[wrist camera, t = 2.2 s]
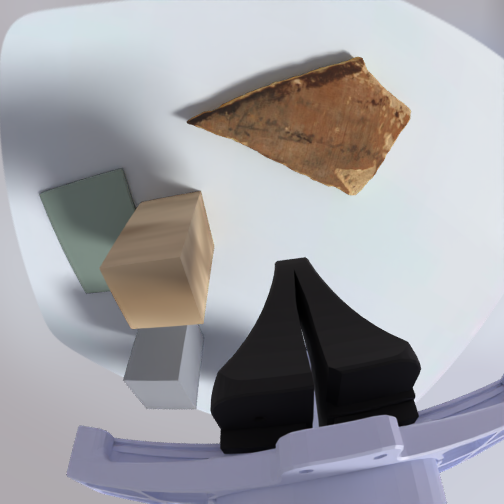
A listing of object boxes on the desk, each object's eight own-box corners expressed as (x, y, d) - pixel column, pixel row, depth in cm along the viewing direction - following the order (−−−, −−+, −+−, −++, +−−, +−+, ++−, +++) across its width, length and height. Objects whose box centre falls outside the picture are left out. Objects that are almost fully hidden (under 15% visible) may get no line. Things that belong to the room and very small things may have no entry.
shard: (190, 118, 16) (184, 123, 15) (249, 3, 12) (249, -4, 11) (348, 193, 19) (357, 205, 18) (408, 96, 15) (422, 101, 14)
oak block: (214, 245, 21) (203, 323, 15) (158, 254, 21) (131, 328, 15) (200, 190, 18) (179, 257, 13) (140, 202, 19) (99, 268, 13)
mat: (162, 283, 22) (161, 285, 22) (87, 291, 23) (86, 293, 22) (122, 168, 17) (120, 169, 17) (41, 192, 18) (39, 194, 17)
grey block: (203, 338, 26) (196, 409, 20) (161, 341, 26) (146, 408, 20) (190, 305, 23) (178, 380, 18) (144, 309, 24) (123, 380, 18)
